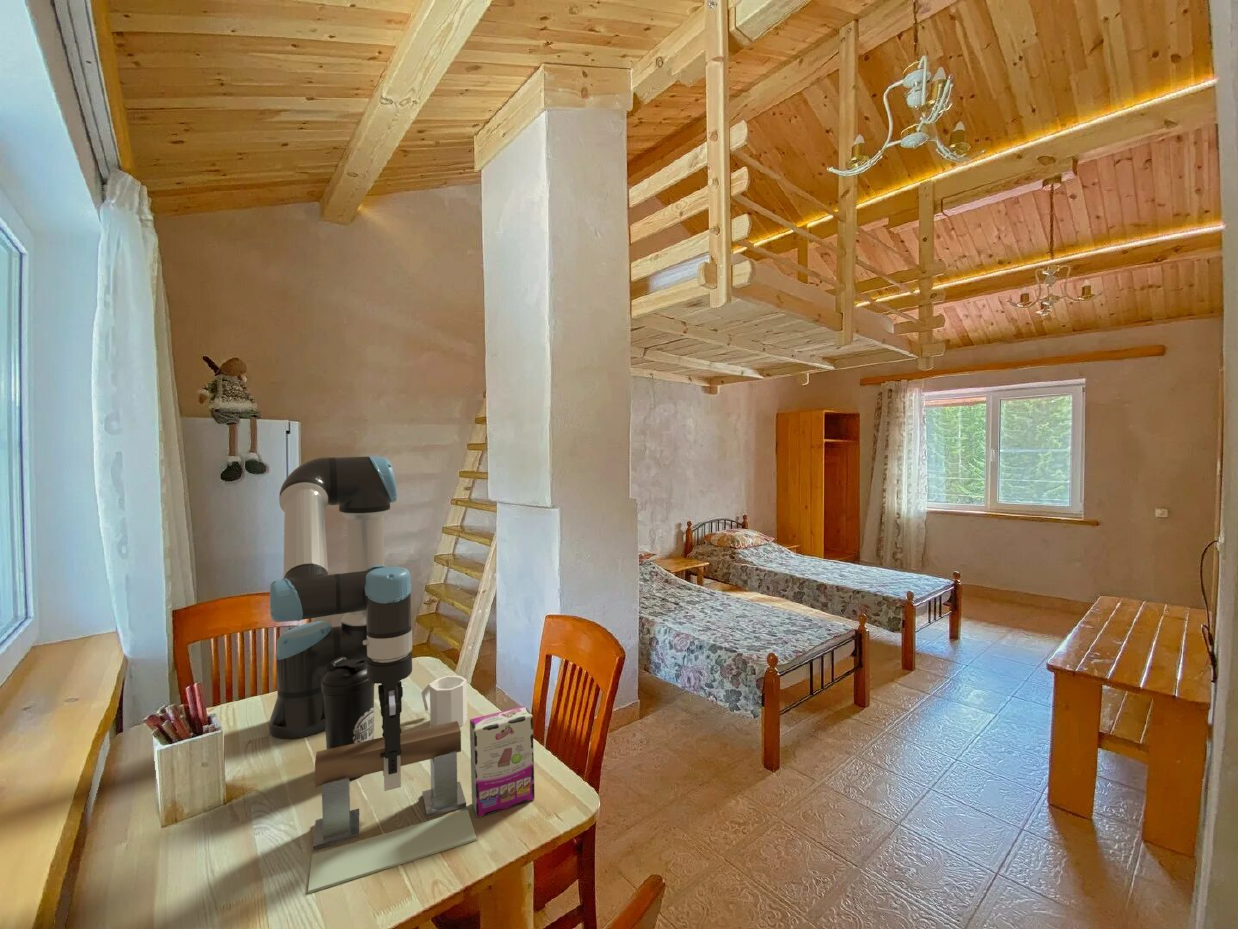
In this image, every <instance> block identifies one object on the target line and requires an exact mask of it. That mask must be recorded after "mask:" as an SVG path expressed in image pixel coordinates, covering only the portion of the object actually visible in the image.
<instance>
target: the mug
mask: <svg viewBox="0 0 1238 929" xmlns="http://www.w3.org/2000/svg"><path fill="white" fill-rule="evenodd" d="M421 697H422V702H423V706H424V711H426V712H427V711H430V714H429V715H430V717H429V718H430V719H429V720H430V724H429V726H430V727H432V726H436V725H441V724H445V723H450V722H455V721H458V724H459V727H460V726H461V727H463V726H464V725H465V723H466V722H467V721H468V680H467V678H465V677H463V676H462V675H445V676H442V677H440V678H437V679H434V680H433V681H432V682H430V683H428V685H427V686H426V687H424V689H423V690H422V691H421ZM462 725H463V726H462ZM461 727H460V728H461Z"/></svg>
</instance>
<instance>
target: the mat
mask: <svg viewBox="0 0 1238 929" xmlns="http://www.w3.org/2000/svg"><path fill="white" fill-rule="evenodd" d="M475 841H477V836H476V833H475V830H474V826H473V823H472V819H471V816H470V813H469V810H468V809H464V810H460V811H458V812H454V813H451V814H448V815H444V816H441V817H437V818H434V819H429V820H427V821H423V822H420V823H416V824H413V825H410V826H406V827H403V828H399V829H396V830H393V831H392V830H391V831H389V832H385V833H382V834H378V835H376V836H375V835H374V836H372V837H368V838H365V839H362V840H359V841H355V842H352V843H348V844H344V845H341V846H337V847H334V848H331V849H327V850H324V851H321V852H320V851H319V852H318V853H313V854H312V855H311V862H310V871H309V879H308V880H309V881H308V890H307V894H308V895H309V894H312V893H315V892H318V891H321V890H323V889H327V888H331V887H333V886H337V885H340V884H343V883H347V882H349V881H353V880H356V879H359V878H362V877H365V876H368V875H371V874H375V873H377V872H381V871H384V870H387V869H390V868H393V867H397V866H400V865H402V864H406V863H409V862H412V861H415V860H418V859H419V860H420V859H421V858H424V857H428V856H430V855H434V854H437V853H440V852H444V851H446V850H450V849H453V848H456V847H460V846H463V845H465V844H469V843H472V842H475Z"/></svg>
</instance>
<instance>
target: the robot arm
mask: <svg viewBox="0 0 1238 929" xmlns="http://www.w3.org/2000/svg"><path fill="white" fill-rule="evenodd" d="M396 483H397V482H396V478H395V473H394V468H393V465H392V463H391V461H390V460H389V459H388V458H386V457H383V456H372V455H368V456H338V457H337V456H335V457H333V456H332V457H331V456H330V457H329V456H325V457H324V456H323V457H322V456H321V457H318V458H314V459H311V460H308V461H305V462H304V463H303V464H301V465H299V466H298V467H296V468H295V469H294V470H293V471H292V472H291V473H289V475H288V476H287V477H286V478H285V480H284V481H283V483H282V485H281V486H280V487H281V488H280V491H279V496H278V497H279V499H278V500H279V502H278V503H279V507H280V509H281V510H282V511H283V512H284V517H283V518H284V519H283V520H284V521H283V522H284V523H283V525H284V526H283V527H284V530H283V576H282V579H279V580H277V579H276V580H274V581H272V582H271V584H270V586H269V614H270V617H271V618H270V619H271V620H272V621H274V622H276V623H285V622H296V621H297V622H300V621H303V620H304V621H305V620H308V619H309V620H310V619H316V618H321V617H328V616H334V615H335V616H337V615H342V614H343V616H342V617H341V620H340V623H341V624H340V625H338V626H333V624H332V623H331V622H330V621H327V620H321V621H320V620H318V621H317V620H316V621H311V622H306V623H303V624H300V625H297V626H294V627H292V628H290V629H289V630H287V631H285V632H283V633H282V634H281V635H280V636H279V637H278V639H277V641H276V651H275V652H276V654H275V659H276V679H277V680H276V684H277V685H276V686H277V687H276V689H277V690H276V691H277V697H276V700H275V703H274V706H273V709H272V712H271V715H270V719H269V725H268V726H269V733H270V735H271V736H273V737H275V738H279V739H296V738H303V737H308V736H311V735H315V734H318V733H321V732H323V731H326V730H325V712H324V695H323V693H322V690H321V680H322V678H323V677H324V675H325V674H326V673H327V672H328V671H327V668H326V667H327V664H329V663H330V662H332V661H334V660H335V659H337V658H339V657H342V656H344V657H345V658H346V659H347V660H353V659H361V658H368V659H367V678H368V680H369V681H370V682H372V683H375V684H377V685H378V686H377V691H378V692H377V693H378V701H379V707H380V715H381V717H382V724H381V729H382V734H381V736H382V737H384V741H385V751H384V752H383V753H380V758H383V757H384V770H383V771H382V776H383V779H384V780H383V786H384V787H383V789H384V790H383V791H384V792H387V791H391V790H395V789H399V788H402V780H401V779H402V778H401V777H402V775H401V774H402V772H401V767H402V766H401V761H400V755H401V743H400V733H403V732H402V728H401V713H402V710H403V708H402V706H403V705H402V698H403V697H404V696H403V695H404V691H403V686H402V681H403V680H405V679H407V678H408V677H409V676H410V675H411V674H412V672H413V653H412V652H411V651H413V628H412V590H413V586H412V585H413V584H412V582H411V573H410V571H409V569H407V568H406V567H401V566H387V565H385V515H387V513H389V511H391V503H392V504H393V503H395V502H397V500H398V489H397V484H396ZM327 506H338V513H339V514H341V515H342V516H343V517H344V518H345V520H346V522H345V523H346V527H345V529H346V572H345V573H343V572H341V573H335V574H334V573H332V574H331V573H330V574H329V564H328V550H327V549H328V548H327V536H326V521H325V520H326V519H325V509H326V508H327Z"/></svg>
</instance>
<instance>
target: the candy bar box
mask: <svg viewBox="0 0 1238 929" xmlns="http://www.w3.org/2000/svg"><path fill="white" fill-rule="evenodd" d="M469 735H470V736H469V737H470V738H469V740H470V742H469V744H470V773H471V774H470V775H471V776H470V778H471V779H470V780H471V781H470V782H471V784H470V785H471V787H470V788H471V803H472V807H473V809H474V812H475V816H476V818H481V817H483V816H488V815H491V814H494V813H497V812H499V811H502V810H506V809H508V808H509V809H510V808H511V807H515V806H518V805H521V804H523V803H527V802H529V801H532V800H535V763H534V762H535V761H534V760H535V759H534V750H535V749H534V716H533V714H532V713H531V712H530V711H529V708H528V707H527V706H526V705H523V706H520V707H515V708H511V709H507V710H503V711H498V712H495V713H490V714H487V715H482V716H479V717H475V718H470V719H469Z"/></svg>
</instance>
